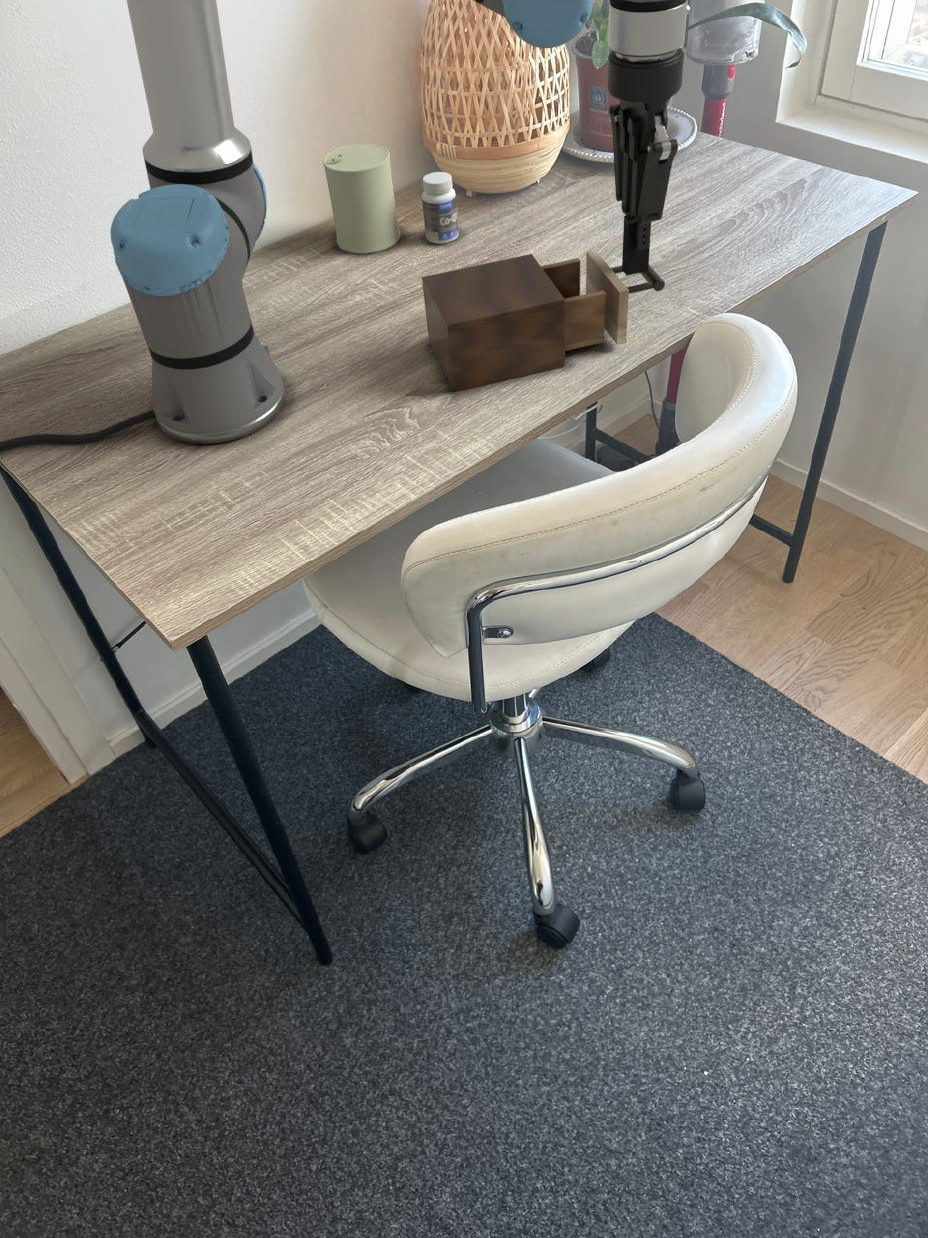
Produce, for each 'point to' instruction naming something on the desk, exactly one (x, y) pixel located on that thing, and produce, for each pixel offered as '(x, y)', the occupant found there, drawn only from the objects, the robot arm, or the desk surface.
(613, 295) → the drawer
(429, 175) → the pill bottle
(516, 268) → the cabinet
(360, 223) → the can
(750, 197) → the desk surface
